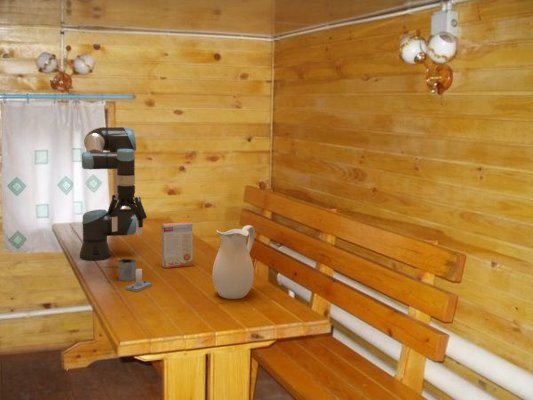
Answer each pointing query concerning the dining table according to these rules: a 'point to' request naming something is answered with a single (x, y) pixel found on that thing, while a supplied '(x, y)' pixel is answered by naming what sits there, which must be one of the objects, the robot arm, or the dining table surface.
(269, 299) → the dining table surface
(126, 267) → the tube
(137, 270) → the shaft stand
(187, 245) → the cracker box
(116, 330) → the dining table surface
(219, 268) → the pitcher
